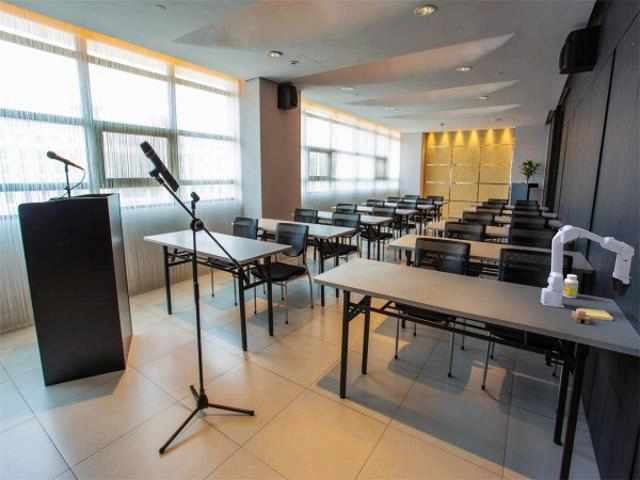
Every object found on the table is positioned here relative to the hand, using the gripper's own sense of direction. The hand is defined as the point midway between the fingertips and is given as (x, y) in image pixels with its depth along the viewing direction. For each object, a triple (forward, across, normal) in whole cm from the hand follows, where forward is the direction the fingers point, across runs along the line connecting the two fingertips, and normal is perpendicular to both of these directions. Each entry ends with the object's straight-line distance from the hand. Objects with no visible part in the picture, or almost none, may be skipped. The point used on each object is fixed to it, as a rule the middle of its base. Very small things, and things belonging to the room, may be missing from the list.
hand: (618, 293), depth 174 cm
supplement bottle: (+10, +18, +16) cm, 26 cm away
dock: (+10, -10, +11) cm, 18 cm away
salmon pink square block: (+7, -20, +20) cm, 29 cm away
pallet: (+10, -20, +20) cm, 30 cm away
